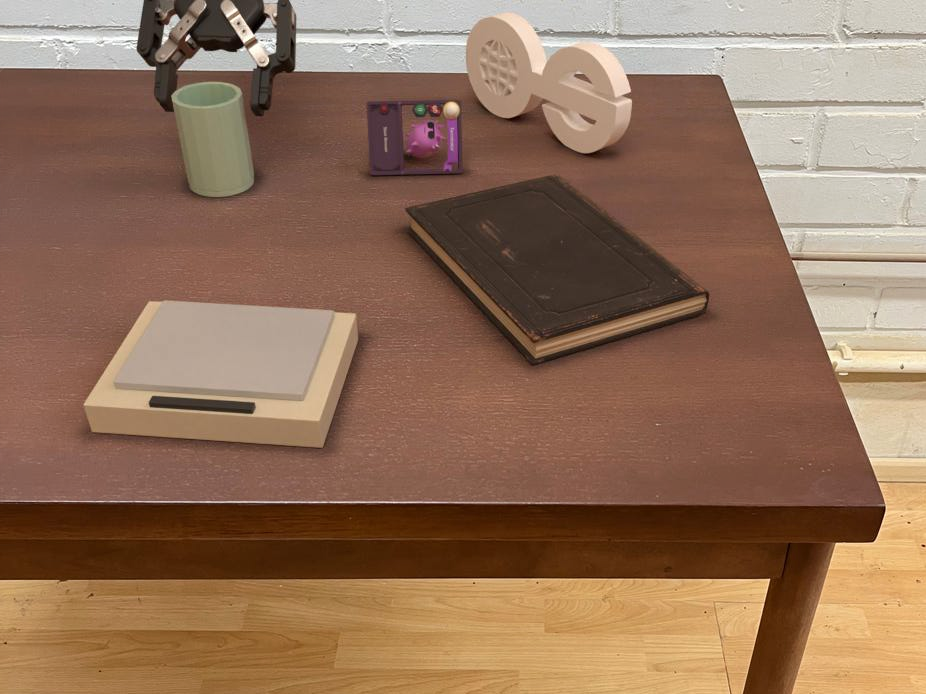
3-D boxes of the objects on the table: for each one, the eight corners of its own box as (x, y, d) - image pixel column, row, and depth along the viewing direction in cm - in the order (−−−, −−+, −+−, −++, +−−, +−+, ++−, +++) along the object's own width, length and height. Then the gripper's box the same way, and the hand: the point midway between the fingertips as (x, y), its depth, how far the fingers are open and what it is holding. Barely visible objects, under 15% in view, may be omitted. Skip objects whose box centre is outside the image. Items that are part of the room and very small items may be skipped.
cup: (180, 195, 95) (162, 106, 89) (200, 167, 99) (183, 80, 94) (244, 199, 94) (230, 109, 89) (261, 170, 99) (249, 83, 93)
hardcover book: (532, 365, 75) (533, 339, 73) (406, 231, 90) (405, 207, 88) (707, 313, 80) (711, 288, 79) (560, 195, 95) (562, 172, 94)
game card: (366, 101, 95) (461, 100, 95) (368, 99, 99) (458, 98, 100) (370, 175, 97) (463, 173, 98) (371, 170, 102) (460, 168, 103)
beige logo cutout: (465, 101, 112) (465, 6, 105) (480, 96, 113) (481, 2, 107) (610, 167, 100) (621, 63, 93) (625, 160, 101) (637, 58, 94)
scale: (91, 432, 68) (80, 397, 66) (155, 327, 78) (147, 293, 76) (322, 448, 67) (318, 413, 65) (358, 339, 77) (355, 306, 75)
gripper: (136, -87, 90) (119, 89, 89) (292, -82, 89) (277, 96, 89) (167, -39, 98) (152, 124, 97) (311, -34, 97) (297, 131, 96)
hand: (211, 110), depth 93 cm, fingers open, 8 cm apart
